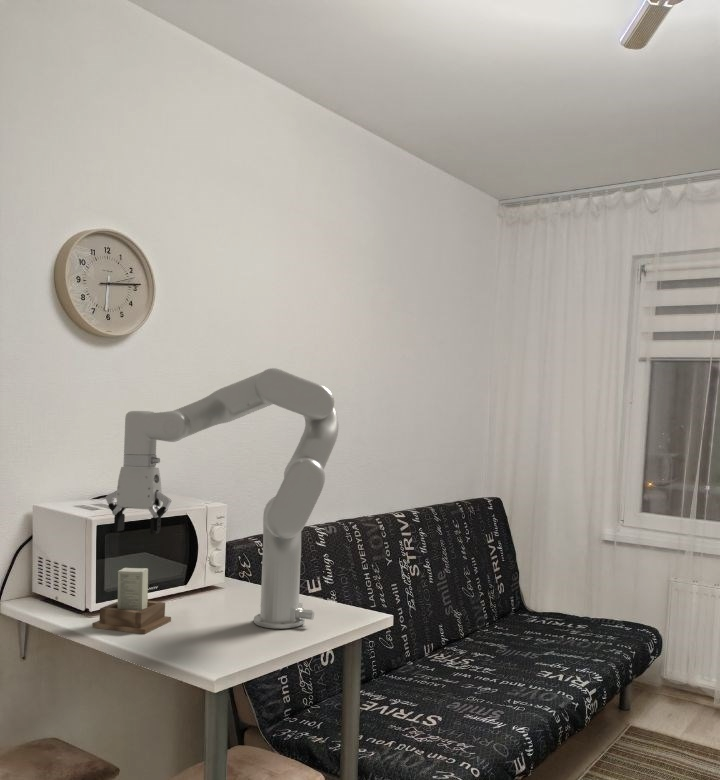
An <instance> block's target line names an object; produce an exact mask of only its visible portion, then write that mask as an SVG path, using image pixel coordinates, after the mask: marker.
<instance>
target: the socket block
mask: <svg viewBox="0 0 720 780" xmlns="http://www.w3.org/2000/svg"><path fill="white" fill-rule="evenodd" d="M117 606H118V601H116V602H112V603H110V604H107V605H105V606H102V607H100V608H99V619H98V620H97V621H95V622H92V625H91V626H92V627H93V628H92V629H103V630H108V631H109V630H111V631H119V632H127V633H135V634H142V635H143V634H144V635H146V634H148V633H150V632H151V631H155V630H156V629H158V628H160V627H162V626H164V625H166V624H168V623H170V622H171V621H172V617H171V616H166V614H165V613H166V602H162V601H154V600H148V601H147V608H145V609H143V610H140V611H135V610H126V609H117Z"/></svg>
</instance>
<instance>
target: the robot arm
mask: <svg viewBox="0 0 720 780" xmlns="http://www.w3.org/2000/svg"><path fill="white" fill-rule="evenodd" d="M272 405H275V406H277V407H279V408H282V409H285V410H288V411H290V412H293V413H295V414H298V415H301V416H303V418H304V424H305V426H304V429H303V432H302V435H301V437H300V439H299V442H298V444H297V446H296V448H295V450H294V452H293V454H292V456H291V458H290V460H289V462H288V463H287V465H286V466H285V469H284V473H283V480H282V482H281V484H280V487H279V488H278V491H277V492H276V495H275V496H273V497H271V498H270V499H269V500H268V502H267V503H266V504H265V507H264V510H263V516H262V517H263V518H262V520H263V521H262V528H263V529H262V533H263V534H262V536H263V537H262V539H263V540H262V560H261V561H262V563H261V585H260V587H261V589H260V610H259V611H260V613H258V614H256V615H255V616H254V617H253V623H254V624H255V625H257V626H258V627H263V628H267V629H277V630H279V629H281V630H283V629H284V630H285V629H293V628H297V627H300V626H302V625H304V623H305V622H306V621H305V620H311V621H312V620H314V619H315V611H313V609H305V608H304V607H303V602H300V582H301V581H300V580H301V561H302V560H301V559H302V531H303V529H304V528H305V526H306V525H307V522H308V520H309V519H310V517H311V514H312V513H313V510H314V508H315V506H316V504H317V502H318V500H319V498H320V496H321V493H322V491H323V488H324V485H325V482H326V481H325V480H326V475H325V471H324V469H325V468H326V465H327V463H328V461H329V458H330V456H331V454H332V452H333V450H334V447H335V444H336V442H337V439H338V434H339V427H340V426H339V417H338V413H337V411H336V408H335V397H334V395H333V393H332V391H330V389H328V387H326V386H325V385H322V384H319V383H317V382H313V381H311V380H308V379H307V378H303V377H300V376H297V375H294V374H293V373H289V372H287V371H284V370H282V369H279V368H277V367H272V368H271V367H270V368H268V369H267V368H266V369H265V370H263V371H261V372H258V373H256V374H254V375H251V376H249V377H246V378H243V379H241V380H239V381H237V382H234V383H231V384H229V385H227V386H224V387H221V388H219V389H216V390H215V391H214V392H212V393H210V394H209V395H207V396H205V397H203V398H201V399H199V400H196V401H195V402H192V403H189V404H187V405H184V406H182V407H178V408H176V409H174V410H169V411H162V412H161V411H160V412H159V411H157V412H154V411H151V410H150V411H149V410H131V411H128V412H127V413H126V414H125V416H124V417H125V418H124V441H123V442H124V445H123V465H122V466H121V468H120V470H119V475H118V480H117V487H116V490H114V491H113V492H112V493H111V492H110V493H109V494H107V495H106V496H105V500H106V503H107V504H108V508H109V509H110V511H111V512H112V515H113V516H114V523H113V527H114V532H115V533H118V532H123V531H124V530H125V519H126V517H125V515H126V514H125V513H124V512H125V510H126V509H134V510H148V511H149V512H150V514H151V515H152V517H151V518H150V528H149V529H150V532H149V533H150V535H154V536H155V535H156V534H159V533H160V531H161V526H162V523H161V522H162V517H164V515H165V514H166V513H167V512H168V509H169V507H170V506H171V504H172V498H170V497H168V496H167V495H165V494H164V493H162V481H161V479H162V478H161V473H160V468H159V467H156V466H157V464H160V463H161V458H159V457H157V441H162V442H169V443H176V442H179V441H181V440H182V439H186V438H188V437H189V436H192V435H195V434H197V433H199V432H202V431H204V430H208V429H209V428H211V427H214V426H218V425H222V424H227V423H230V422H232V421H235V420H237V419H240V418H242V417H245V416H247V415H249V414H251V413H254V412H257V411H259V410H262V409H264V408H267V407H269V406H272ZM115 498H116V501H115Z"/></svg>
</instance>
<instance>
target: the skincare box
mask: <svg viewBox="0 0 720 780" xmlns="http://www.w3.org/2000/svg"><path fill="white" fill-rule="evenodd" d="M148 593H149V568H148V567H147V568H146V567H145V568H144V567H124V568H123V567H122V568H121V569H120V570H117V602H118V606H117V609H126V610H135V611H140V610H143V609H145V608H147V601H149V600H148V597H149V596H148Z"/></svg>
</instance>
